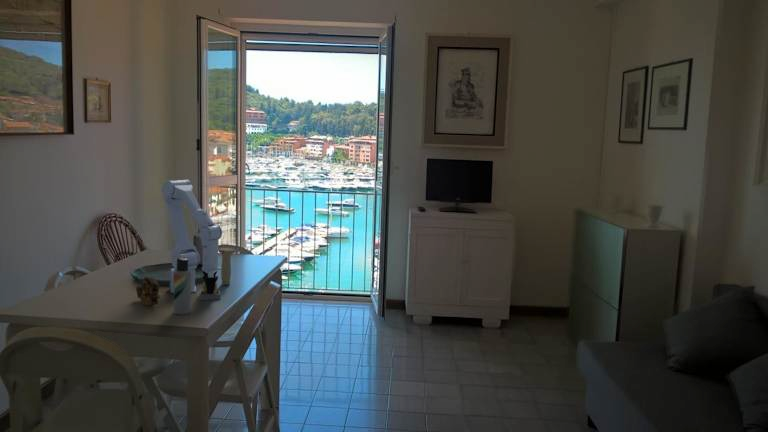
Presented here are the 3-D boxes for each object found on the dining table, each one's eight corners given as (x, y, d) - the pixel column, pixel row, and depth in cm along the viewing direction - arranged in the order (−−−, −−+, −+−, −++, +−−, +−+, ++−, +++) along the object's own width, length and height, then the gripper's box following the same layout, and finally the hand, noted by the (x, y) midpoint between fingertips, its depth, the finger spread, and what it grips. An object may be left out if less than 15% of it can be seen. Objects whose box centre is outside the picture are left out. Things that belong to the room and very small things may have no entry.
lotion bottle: (184, 309, 220) (185, 254, 217) (193, 312, 217) (194, 257, 214) (170, 312, 216) (170, 257, 213) (179, 316, 213) (179, 260, 210)
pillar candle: (193, 260, 294) (193, 229, 292) (214, 259, 297) (214, 229, 294) (193, 265, 285) (193, 233, 282) (214, 264, 288) (215, 233, 285)
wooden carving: (131, 300, 227) (131, 274, 226) (143, 298, 230) (143, 272, 229) (152, 311, 216) (152, 284, 215) (164, 309, 219) (164, 282, 218)
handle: (228, 286, 252) (229, 251, 250) (215, 284, 254) (216, 249, 252) (235, 284, 257) (236, 249, 254) (222, 282, 259) (223, 247, 257)
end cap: (199, 299, 232) (199, 294, 232) (199, 295, 237) (199, 290, 237) (220, 299, 235) (220, 294, 234) (219, 295, 240) (219, 290, 239)
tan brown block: (203, 299, 234) (203, 283, 233) (202, 296, 237) (203, 281, 236) (216, 298, 235) (216, 283, 235) (216, 296, 238) (216, 281, 237)
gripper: (222, 260, 228) (221, 296, 230) (220, 252, 242) (219, 285, 244) (202, 261, 226) (202, 296, 228) (201, 252, 240) (201, 286, 242)
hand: (209, 291), depth 236 cm, fingers open, 7 cm apart
